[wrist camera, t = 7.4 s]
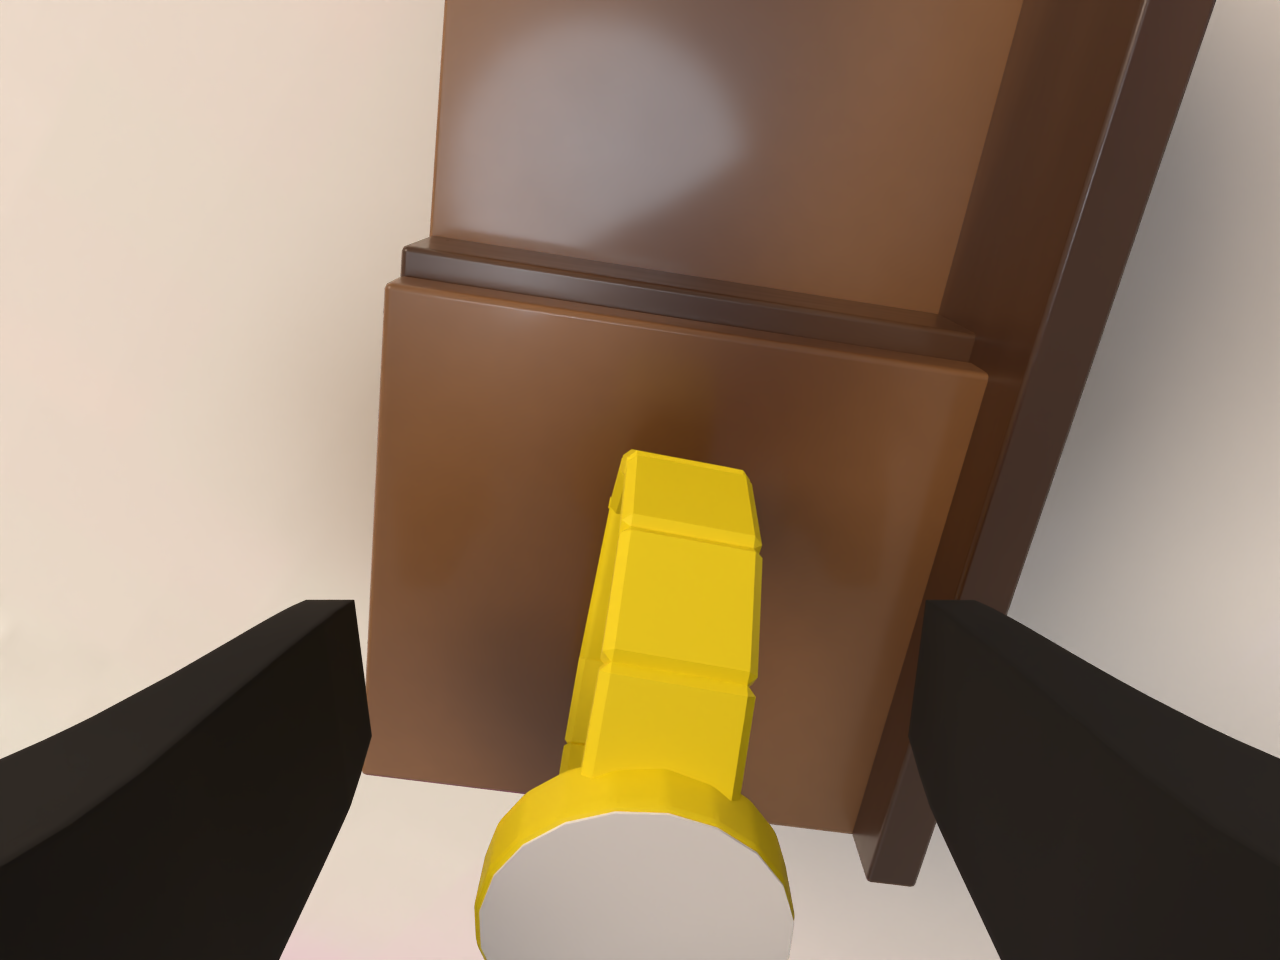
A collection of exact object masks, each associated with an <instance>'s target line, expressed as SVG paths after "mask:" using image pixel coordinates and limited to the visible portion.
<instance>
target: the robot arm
mask: <svg viewBox="0 0 1280 960" xmlns="http://www.w3.org/2000/svg"><path fill="white" fill-rule="evenodd" d="M371 738H372V733H371V725H370V717H369V709H368V702H367V694H366V686H365V679H364V671H363V663H362V656H361V648H360V640H359V633H358V625H357V617H356V609H355V602H354V600H305V601H303V602H300V603H298V604H296V605H293V606H291V607H289V608H287V609H285V610H283V611H282V612H280V613H278V614H276V615H274V616H272V617H270V618H269V619H267V620H265V621H263V622H262V623H260V624H258V625H256V626H255V627H253V628H251V629H249V630H248V631H246V632H244V633H243V634H241V635H239V636H237V637H236V638H234V639H232V640H231V641H229V642H227V643H225V644H224V645H222V646H220V647H218V648H217V649H215V650H213V651H211V652H210V653H208V654H206V655H205V656H203V657H201V658H199V659H198V660H196V661H194V662H192V663H191V664H189V665H187V666H186V667H184V668H182V669H180V670H179V671H177V672H175V673H173V674H172V675H170V676H168V677H166V678H164V679H162V680H160V681H158V682H157V683H155V684H153V685H151V686H149V687H147V688H145V689H143V690H142V691H140V692H138V693H136V694H134V695H132V696H130V697H128V698H127V699H125V700H123V701H121V702H119V703H117V704H115V705H113V706H112V707H110V708H108V709H106V710H104V711H102V712H100V713H98V714H97V715H95V716H93V717H91V718H89V719H87V720H85V721H83V722H81V723H79V724H77V725H75V726H73V727H70V728H68V729H66V730H64V731H62V732H60V733H58V734H56V735H54V736H51V737H49V738H47V739H45V740H43V741H41V742H38V743H36V744H34V745H32V746H29V747H27V748H25V749H22V750H20V751H18V752H16V753H13V754H11V755H9V756H7V757H4V758H2V759H0V960H279V959H280V957H281V955H282V952H283V950H284V948H285V946H286V944H287V942H288V940H289V938H290V935H291V933H292V931H293V929H294V927H295V925H296V923H297V921H298V918H299V916H300V914H301V912H302V910H303V908H304V906H305V904H306V901H307V899H308V897H309V895H310V893H311V891H312V889H313V887H314V885H315V882H316V880H317V878H318V876H319V874H320V872H321V870H322V868H323V865H324V863H325V861H326V859H327V857H328V855H329V852H330V850H331V848H332V846H333V844H334V842H335V839H336V837H337V835H338V833H339V831H340V829H341V826H342V824H343V822H344V820H345V817H346V815H347V813H348V811H349V808H350V806H351V803H352V800H353V797H354V794H355V791H356V788H357V784H358V781H359V778H360V775H361V772H362V768H363V765H364V762H365V758H366V755H367V751H368V748H369V744H370V741H371ZM908 738H909V741H910V744H911V748H912V751H913V755H914V758H915V762H916V765H917V768H918V772H919V775H920V778H921V781H922V784H923V788H924V791H925V794H926V797H927V800H928V803H929V806H930V808H931V811H932V813H933V815H934V817H935V820H936V822H937V824H938V826H939V829H940V831H941V833H942V835H943V837H944V839H945V842H946V844H947V846H948V848H949V850H950V852H951V855H952V857H953V859H954V861H955V863H956V865H957V868H958V870H959V872H960V874H961V876H962V878H963V880H964V882H965V885H966V887H967V889H968V891H969V893H970V895H971V897H972V899H973V901H974V904H975V906H976V908H977V910H978V912H979V914H980V916H981V918H982V921H983V923H984V925H985V927H986V929H987V931H988V933H989V935H990V938H991V940H992V942H993V944H994V946H995V948H996V950H997V952H998V955H999V957H1000V959H1001V960H1280V759H1279V758H1277V757H1275V756H1272V755H1270V754H1268V753H1265V752H1263V751H1261V750H1259V749H1256V748H1254V747H1252V746H1249V745H1247V744H1245V743H1243V742H1240V741H1238V740H1236V739H1234V738H1231V737H1229V736H1227V735H1225V734H1223V733H1221V732H1219V731H1217V730H1215V729H1212V728H1210V727H1208V726H1206V725H1204V724H1202V723H1200V722H1198V721H1196V720H1194V719H1192V718H1190V717H1188V716H1186V715H1184V714H1182V713H1181V712H1179V711H1177V710H1175V709H1173V708H1171V707H1169V706H1167V705H1165V704H1163V703H1161V702H1159V701H1157V700H1155V699H1153V698H1151V697H1149V696H1147V695H1146V694H1144V693H1142V692H1140V691H1138V690H1136V689H1135V688H1133V687H1131V686H1129V685H1127V684H1125V683H1124V682H1122V681H1120V680H1118V679H1116V678H1114V677H1113V676H1111V675H1109V674H1107V673H1106V672H1104V671H1102V670H1100V669H1098V668H1097V667H1095V666H1093V665H1091V664H1090V663H1088V662H1086V661H1085V660H1083V659H1081V658H1079V657H1078V656H1076V655H1074V654H1072V653H1071V652H1069V651H1067V650H1065V649H1064V648H1062V647H1060V646H1059V645H1057V644H1055V643H1053V642H1052V641H1050V640H1048V639H1047V638H1045V637H1043V636H1041V635H1040V634H1038V633H1036V632H1035V631H1033V630H1031V629H1029V628H1028V627H1026V626H1024V625H1022V624H1021V623H1019V622H1017V621H1015V620H1014V619H1012V618H1010V617H1008V616H1006V615H1005V614H1003V613H1001V612H999V611H997V610H995V609H993V608H991V607H989V606H987V605H985V604H983V603H980V602H978V601H976V600H926V602H925V609H924V617H923V625H922V633H921V640H920V648H919V656H918V663H917V671H916V679H915V686H914V694H913V702H912V709H911V717H910V725H909V733H908Z"/></svg>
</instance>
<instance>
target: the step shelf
mask: <svg viewBox="0 0 1280 960" xmlns="http://www.w3.org/2000/svg"><path fill="white" fill-rule="evenodd" d="M1215 2H1216V0H445V8H444V23H443V38H442V54H441V69H440V85H439V100H438V115H437V131H436V146H435V162H434V177H433V192H432V208H431V223H430V237H428V238H426V239H423V240H420V241H418V242H415V243H412V244H410V245H407V246H404V248H403V250H402V260H401V277H400V278H397V279H395V280H393V281H391V282H389V283H387V285H386V287H385V296H384V317H383V337H382V358H381V378H380V399H379V420H378V440H377V461H376V481H375V502H374V523H373V543H372V564H371V585H370V605H369V626H368V646H367V667H366V694H367V702H368V709H369V717H370V725H371V733H372V738H371V741H370V744H369V748H368V751H367V755H366V758H365V762H364V765H363V768H362V772H363V773H364V774H366V775H374V776H382V777H390V778H398V779H406V780H414V781H423V782H431V783H439V784H447V785H455V786H464V787H472V788H480V789H488V790H496V791H504V792H513V793H521V794H526V793H527V792H529V791H530V790H532V789H533V788H535V787H537V786H539V785H541V784H543V783H545V782H546V781H548V780H550V779H552V778H554V777H556V776H558V775H559V771H560V765H561V759H562V753H563V748H564V745H566V744H567V742H566V741H565V735H566V729H567V723H568V718H569V712H570V706H571V700H572V695H573V689H574V683H575V678H576V672H577V666H578V660H579V656H580V651H581V646H582V641H583V637H584V632H585V627H586V622H587V617H588V612H589V607H590V602H591V597H592V592H593V587H594V582H595V577H596V572H597V567H598V563H599V558H600V553H601V548H602V543H603V538H604V533H605V528H606V523H607V518H608V513H609V508H608V506H609V501H610V497H612V493H613V489H614V485H615V482H616V478H617V474H618V471H619V467H620V463H621V460H622V458H623V455H624V454H625V453H627V452H628V451H630V450H631V449H634V450H639V451H644V452H650V453H655V454H660V455H666V456H671V457H677V458H682V459H687V460H693V461H698V462H703V463H709V464H714V465H719V466H725V467H730V468H735V469H739V470H743V471H744V472H745V474H746V475H747V477H748V478H749V480H750V482H751V484H752V488H753V494H754V500H755V506H756V512H757V518H758V524H759V530H760V536H761V542H762V547H761V550H760V553H759V555H760V556H761V557H762V558H763V559H762V584H761V608H760V633H759V658H758V678H757V679H756V680H755V682H754V683H753V684H752V685H751V686H750V687H749V688H750V689H751V691H752V692H753V694H754V695H755V696H756V699H755V705H754V712H753V718H752V725H751V731H750V737H749V744H748V750H747V757H746V763H745V770H744V776H743V783H742V789H741V794H742V795H743V796H745V797H746V798H748V799H749V800H750V801H751V802H752V803H753V804H754V806H755V807H756V808H757V809H758V811H759V812H760V813H761V814H762V816H763V817H764V818H765V819H766V821H767V822H768V823H769V824H774V825H783V826H791V827H799V828H807V829H815V830H823V831H832V832H840V833H848V834H853V837H854V841H855V844H856V847H857V850H858V853H859V857H860V860H861V863H862V866H863V869H864V872H865V876H866V879H867V880H868V881H870V882H876V883H885V884H893V885H902V886H910V887H911V886H914V885H915V883H916V880H917V877H918V874H919V871H920V868H921V865H922V862H923V860H924V857H925V854H926V851H927V848H928V845H929V842H930V839H931V836H932V833H933V830H934V827H935V824H936V820H935V817H934V815H933V813H932V811H931V808H930V806H929V803H928V800H927V797H926V794H925V791H924V788H923V784H922V781H921V778H920V775H919V772H918V768H917V765H916V762H915V758H914V755H913V751H912V748H911V744H910V741H909V738H908V733H909V725H910V717H911V709H912V702H913V694H914V686H915V679H916V671H917V663H918V656H919V648H920V640H921V633H922V625H923V617H924V609H925V602H926V600H976V601H978V602H980V603H983V604H985V605H987V606H989V607H991V608H993V609H995V610H997V611H999V612H1001V613H1003V614H1005V615H1006V616H1007V613H1008V610H1009V607H1010V604H1011V601H1012V598H1013V595H1014V592H1015V589H1016V586H1017V583H1018V580H1019V578H1020V575H1021V572H1022V569H1023V566H1024V563H1025V560H1026V557H1027V554H1028V551H1029V548H1030V545H1031V542H1032V539H1033V536H1034V533H1035V531H1036V528H1037V525H1038V522H1039V519H1040V516H1041V513H1042V510H1043V507H1044V504H1045V501H1046V498H1047V495H1048V492H1049V489H1050V486H1051V484H1052V481H1053V478H1054V475H1055V472H1056V469H1057V466H1058V463H1059V460H1060V457H1061V454H1062V451H1063V448H1064V445H1065V442H1066V439H1067V437H1068V434H1069V431H1070V428H1071V425H1072V422H1073V419H1074V416H1075V413H1076V410H1077V407H1078V404H1079V401H1080V398H1081V395H1082V392H1083V389H1084V387H1085V384H1086V381H1087V378H1088V375H1089V372H1090V369H1091V366H1092V363H1093V360H1094V357H1095V354H1096V351H1097V348H1098V345H1099V342H1100V340H1101V337H1102V334H1103V331H1104V328H1105V325H1106V322H1107V319H1108V316H1109V313H1110V310H1111V307H1112V304H1113V301H1114V298H1115V295H1116V293H1117V290H1118V287H1119V284H1120V281H1121V278H1122V275H1123V272H1124V269H1125V266H1126V263H1127V260H1128V257H1129V254H1130V251H1131V248H1132V246H1133V243H1134V240H1135V237H1136V234H1137V231H1138V228H1139V225H1140V222H1141V219H1142V216H1143V213H1144V210H1145V207H1146V204H1147V201H1148V199H1149V196H1150V193H1151V190H1152V187H1153V184H1154V181H1155V178H1156V175H1157V172H1158V169H1159V166H1160V163H1161V160H1162V157H1163V154H1164V152H1165V149H1166V146H1167V143H1168V140H1169V137H1170V134H1171V131H1172V128H1173V125H1174V122H1175V119H1176V116H1177V113H1178V110H1179V107H1180V105H1181V102H1182V99H1183V96H1184V93H1185V90H1186V87H1187V84H1188V81H1189V78H1190V75H1191V72H1192V69H1193V66H1194V63H1195V60H1196V58H1197V55H1198V52H1199V49H1200V46H1201V43H1202V40H1203V37H1204V34H1205V31H1206V28H1207V25H1208V22H1209V19H1210V16H1211V13H1212V11H1213V8H1214V5H1215Z"/></svg>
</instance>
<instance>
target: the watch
mask: <svg viewBox="0 0 1280 960" xmlns="http://www.w3.org/2000/svg"><path fill="white" fill-rule="evenodd" d="M608 508H609V513H608V518H607V523H606V528H605V533H604V538H603V543H602V548H601V553H600V558H599V563H598V567H597V572H596V577H595V582H594V587H593V592H592V597H591V602H590V607H589V612H588V617H587V622H586V627H585V632H584V637H583V641H582V646H581V651H580V656H579V660H578V666H577V672H576V678H575V683H574V689H573V695H572V700H571V706H570V712H569V718H568V723H567V729H566V735H565V741H566V742H567V744H566V745H564V748H563V753H562V759H561V765H560V771H559V775H558V776H556V777H554V778H552V779H550V780H548V781H546V782H545V783H543V784H541V785H539V786H537V787H535V788H533V789H532V790H530V791H529V792H527V793H526V794H525V795H524V796H523V797H522V798H521V799H520V800H519V801H518V802H517V803H516V804H515V805H514V806H513V807H512V808H511V810H510V811H509V812H508V813H507V814H506V815H505V816H504V817H503V818H502V819H501V821H500V822H499V824H498V826H497V828H496V830H495V833H494V835H493V838H492V840H491V843H490V845H489V848H488V850H487V853H486V856H485V860H484V864H483V869H482V873H481V878H480V882H479V887H478V891H477V896H476V900H475V906H474V910H475V929H476V940H477V945H478V947H479V949H480V951H481V953H482V956H483V958H484V960H788V959H789V955H790V948H791V941H792V934H793V927H794V910H793V904H792V899H791V893H790V888H789V882H788V877H787V872H786V866H785V862H784V859H783V856H782V852H781V849H780V845H779V842H778V839H777V836H776V834H775V832H774V830H773V828H772V827H771V826H770V824H769V823H768V822H767V821H766V819H765V818H764V817H763V816H762V814H761V813H760V812H759V811H758V809H757V808H756V807H755V806H754V804H753V803H752V802H751V801H750V800H749V799H748V798H746V797H745V796H743V795H742V794H741V789H742V783H743V776H744V770H745V763H746V757H747V750H748V744H749V737H750V731H751V725H752V718H753V712H754V705H755V699H756V696H755V695H754V694H753V692H752V691H751V689H750V688H749V687H750V686H751V685H752V684H753V683H754V682H755V680H756V679H757V678H758V658H759V633H760V608H761V584H762V559H763V558H762V557H761V556H760V555H759V553H760V550H761V547H762V542H761V536H760V530H759V524H758V518H757V512H756V506H755V500H754V494H753V488H752V484H751V482H750V480H749V478H748V477H747V475H746V474H745V472H744V471H743V470H739V469H735V468H730V467H725V466H719V465H714V464H709V463H703V462H698V461H693V460H687V459H682V458H677V457H671V456H666V455H660V454H655V453H650V452H644V451H639V450H634V449H631V450H630V451H628V452H627V453H625V454H624V455H623V458H622V460H621V463H620V467H619V471H618V474H617V478H616V482H615V485H614V489H613V493H612V497H610V501H609V506H608Z"/></svg>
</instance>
